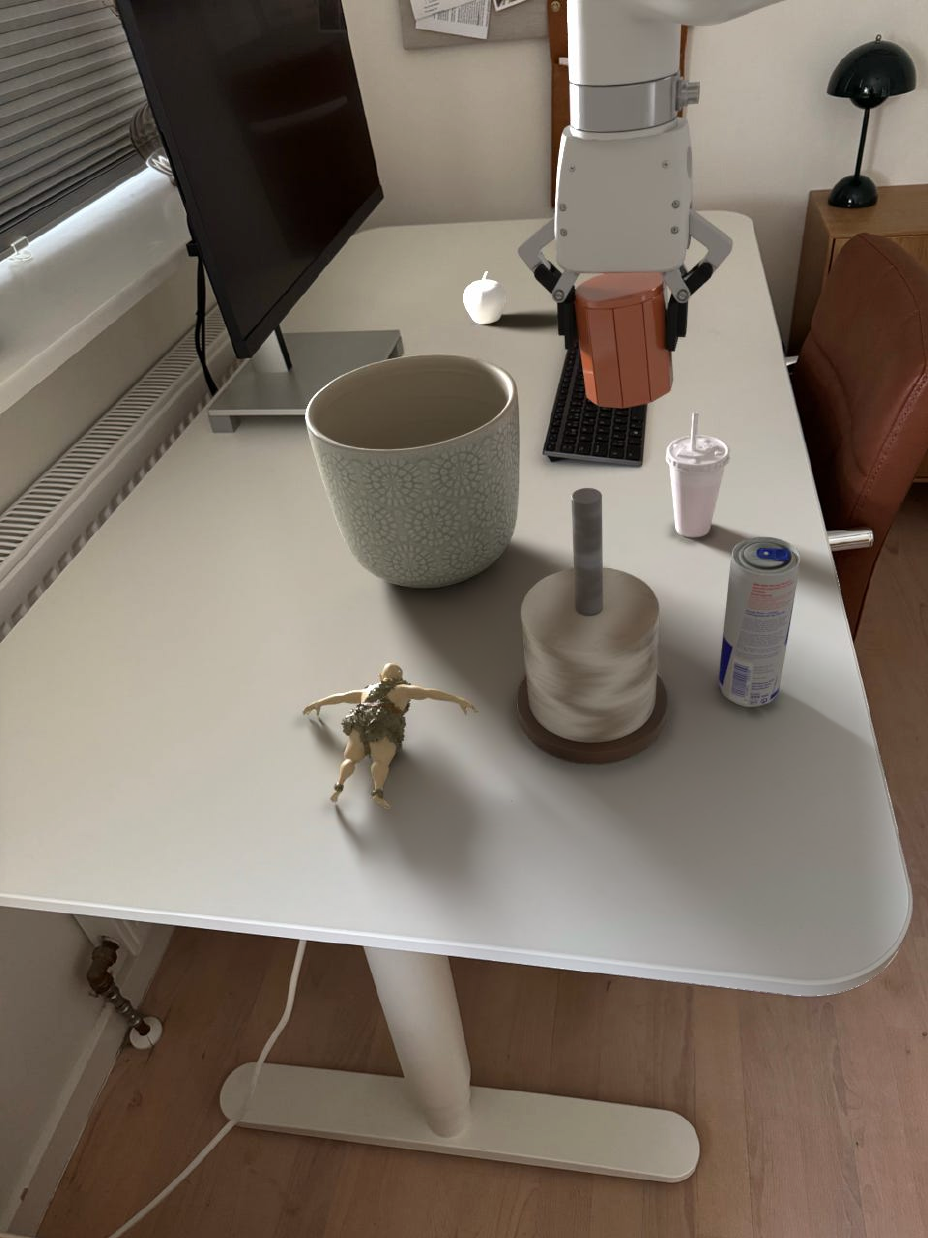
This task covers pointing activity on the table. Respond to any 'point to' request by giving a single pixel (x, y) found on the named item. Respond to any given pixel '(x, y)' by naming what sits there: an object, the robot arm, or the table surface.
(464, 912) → the table surface
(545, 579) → the towel holder
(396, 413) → the planter
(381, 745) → the figurine
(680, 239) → the robot arm
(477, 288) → the plain white apple
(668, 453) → the smoothie
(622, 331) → the orange brown faceted cylinder
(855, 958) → the table surface
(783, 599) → the beverage can
